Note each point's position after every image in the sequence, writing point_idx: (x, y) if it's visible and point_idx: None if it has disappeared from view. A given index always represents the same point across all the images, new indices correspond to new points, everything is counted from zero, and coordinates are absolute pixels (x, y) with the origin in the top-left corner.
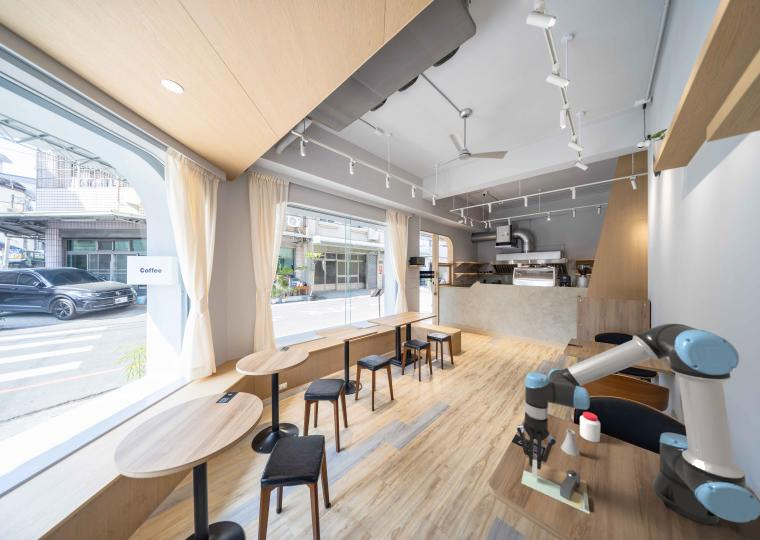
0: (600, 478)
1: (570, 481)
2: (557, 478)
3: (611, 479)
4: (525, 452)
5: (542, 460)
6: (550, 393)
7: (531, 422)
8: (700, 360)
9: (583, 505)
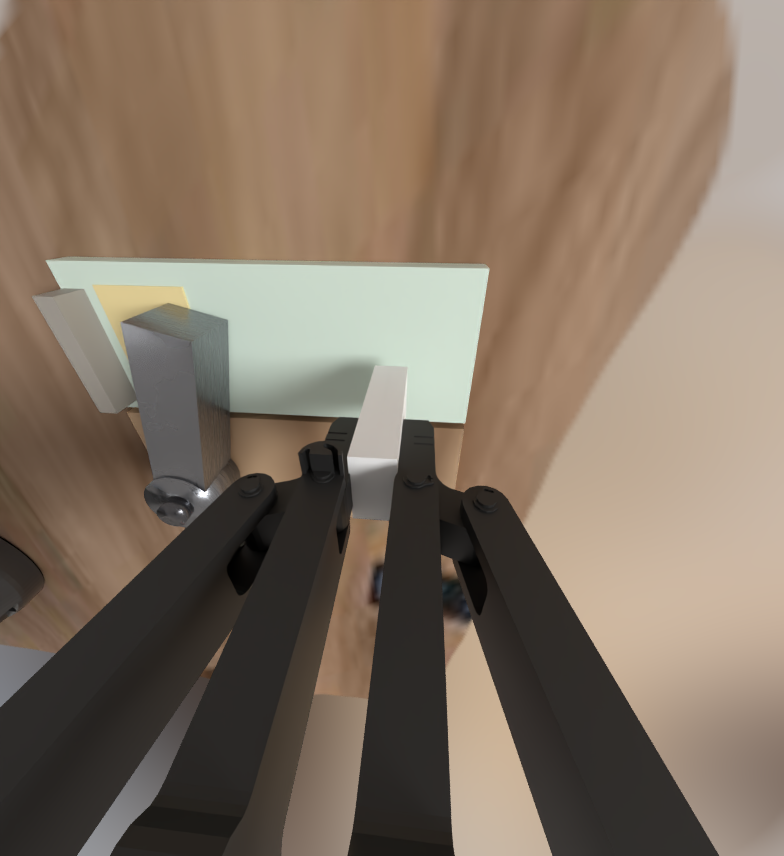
0: (162, 545)
1: (167, 440)
2: (280, 457)
3: (135, 556)
4: (491, 511)
5: (286, 488)
6: None
7: None
8: None
9: (103, 320)
